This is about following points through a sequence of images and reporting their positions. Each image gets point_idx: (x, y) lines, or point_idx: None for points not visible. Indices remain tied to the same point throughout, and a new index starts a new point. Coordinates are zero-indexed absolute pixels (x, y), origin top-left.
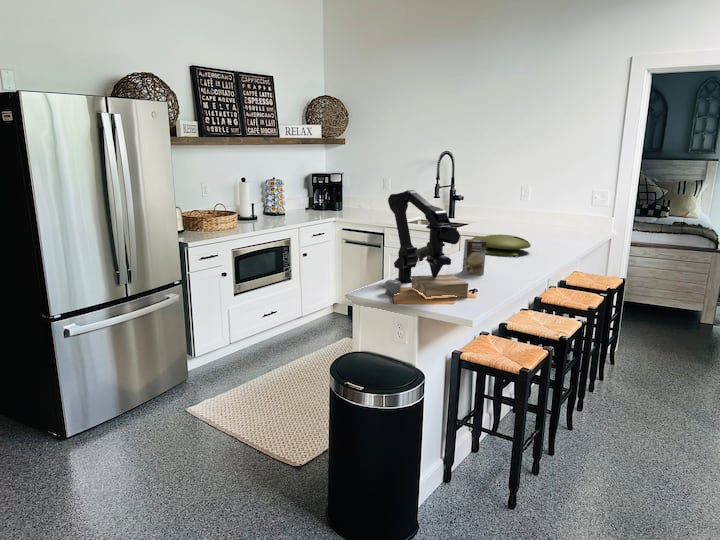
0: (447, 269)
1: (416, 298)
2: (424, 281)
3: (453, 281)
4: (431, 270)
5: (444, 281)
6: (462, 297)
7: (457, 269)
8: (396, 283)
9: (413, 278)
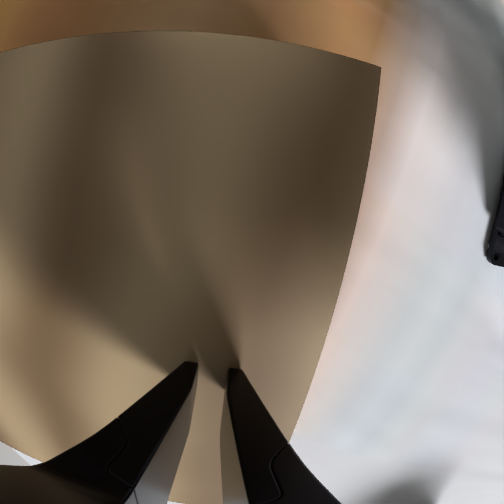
0: (486, 474)
1: (49, 34)
2: (17, 111)
3: (11, 404)
4: (245, 421)
5: (1, 344)
6: None
7: (461, 497)
8: None
9: (273, 44)
